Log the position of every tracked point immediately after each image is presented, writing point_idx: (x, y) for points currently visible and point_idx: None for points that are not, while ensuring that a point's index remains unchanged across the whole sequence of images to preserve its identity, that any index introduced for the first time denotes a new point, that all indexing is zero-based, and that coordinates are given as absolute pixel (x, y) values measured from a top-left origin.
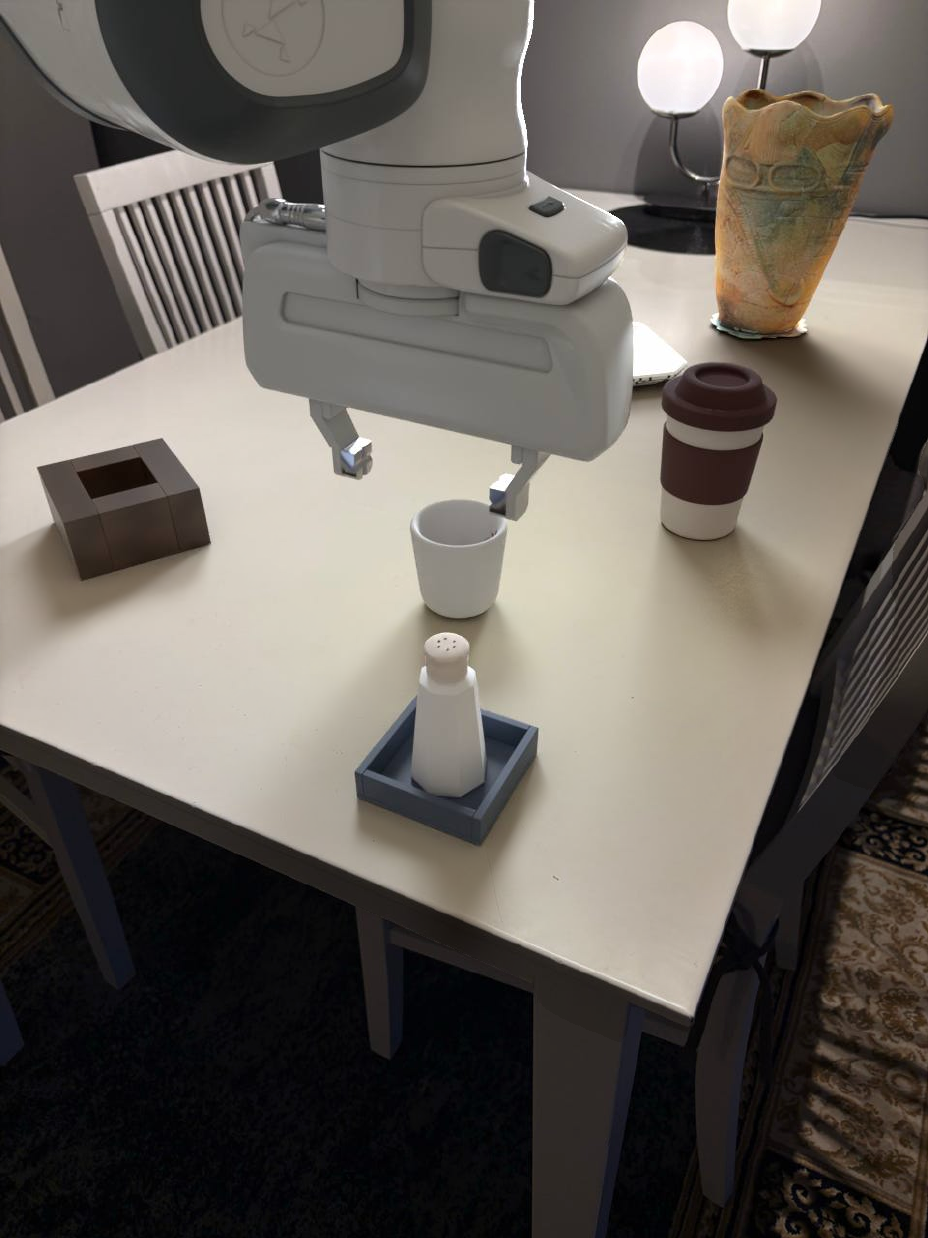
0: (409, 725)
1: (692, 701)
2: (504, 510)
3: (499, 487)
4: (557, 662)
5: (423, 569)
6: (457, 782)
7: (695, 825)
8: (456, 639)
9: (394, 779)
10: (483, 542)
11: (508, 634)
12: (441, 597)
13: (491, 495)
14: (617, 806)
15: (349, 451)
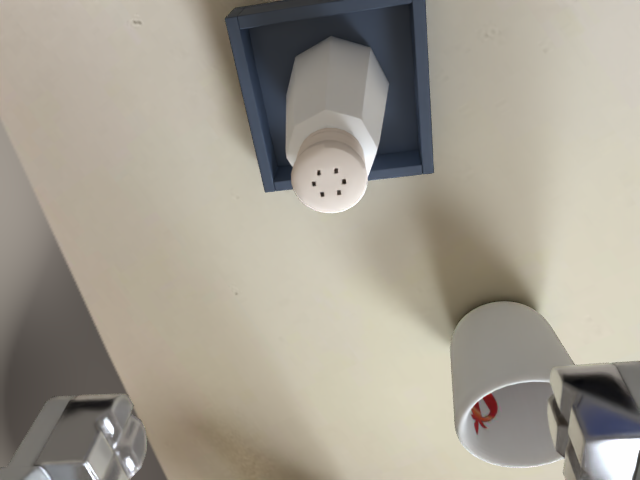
0: (417, 115)
1: (184, 316)
2: (65, 412)
3: (67, 471)
4: (335, 300)
5: (542, 342)
6: (298, 63)
7: (76, 174)
8: (322, 200)
9: (388, 32)
10: (469, 406)
11: (411, 312)
12: (504, 318)
13: (90, 441)
14: (152, 153)
15: (611, 443)
